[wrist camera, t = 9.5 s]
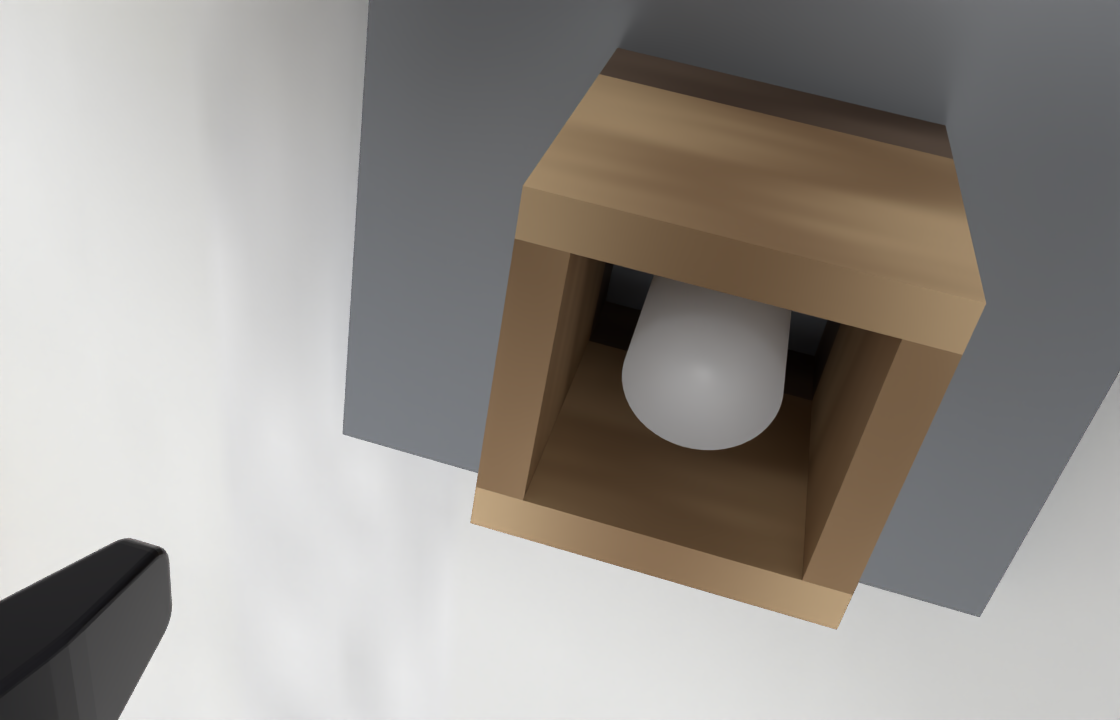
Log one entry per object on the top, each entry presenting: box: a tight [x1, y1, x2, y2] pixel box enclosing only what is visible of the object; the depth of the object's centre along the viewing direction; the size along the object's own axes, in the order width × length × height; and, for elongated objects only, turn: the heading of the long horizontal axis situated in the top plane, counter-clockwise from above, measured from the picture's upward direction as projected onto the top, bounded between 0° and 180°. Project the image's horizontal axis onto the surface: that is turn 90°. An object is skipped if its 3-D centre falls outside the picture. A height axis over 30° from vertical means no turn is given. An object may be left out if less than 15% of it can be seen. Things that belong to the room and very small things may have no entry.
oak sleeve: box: [470, 48, 986, 629], centre depth 16 cm, size 5×5×6 cm
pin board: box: [343, 0, 1120, 617], centre depth 17 cm, size 14×14×6 cm
